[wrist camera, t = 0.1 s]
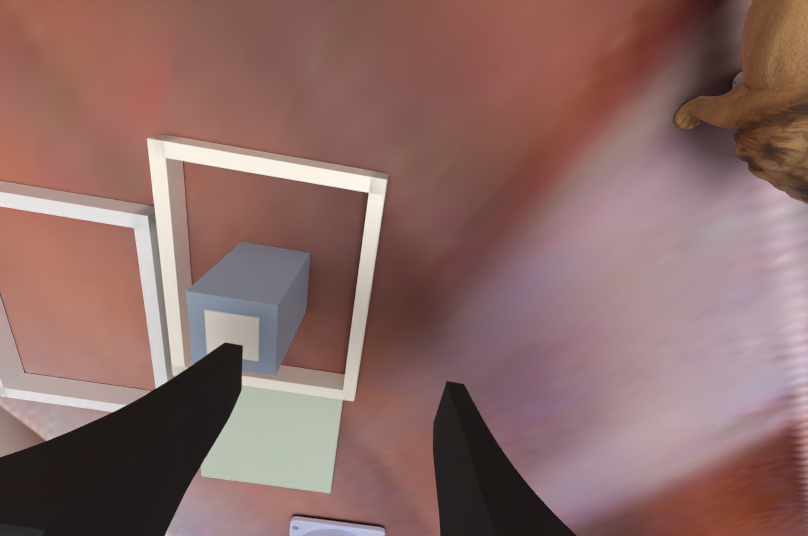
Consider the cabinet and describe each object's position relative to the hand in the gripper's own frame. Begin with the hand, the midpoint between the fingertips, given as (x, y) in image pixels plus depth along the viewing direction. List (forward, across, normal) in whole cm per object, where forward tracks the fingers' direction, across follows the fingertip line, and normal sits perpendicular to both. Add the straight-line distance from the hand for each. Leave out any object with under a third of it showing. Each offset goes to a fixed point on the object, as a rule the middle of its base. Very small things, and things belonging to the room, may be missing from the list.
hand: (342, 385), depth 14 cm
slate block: (+10, +6, +2) cm, 12 cm away
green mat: (+10, +5, +15) cm, 19 cm away
